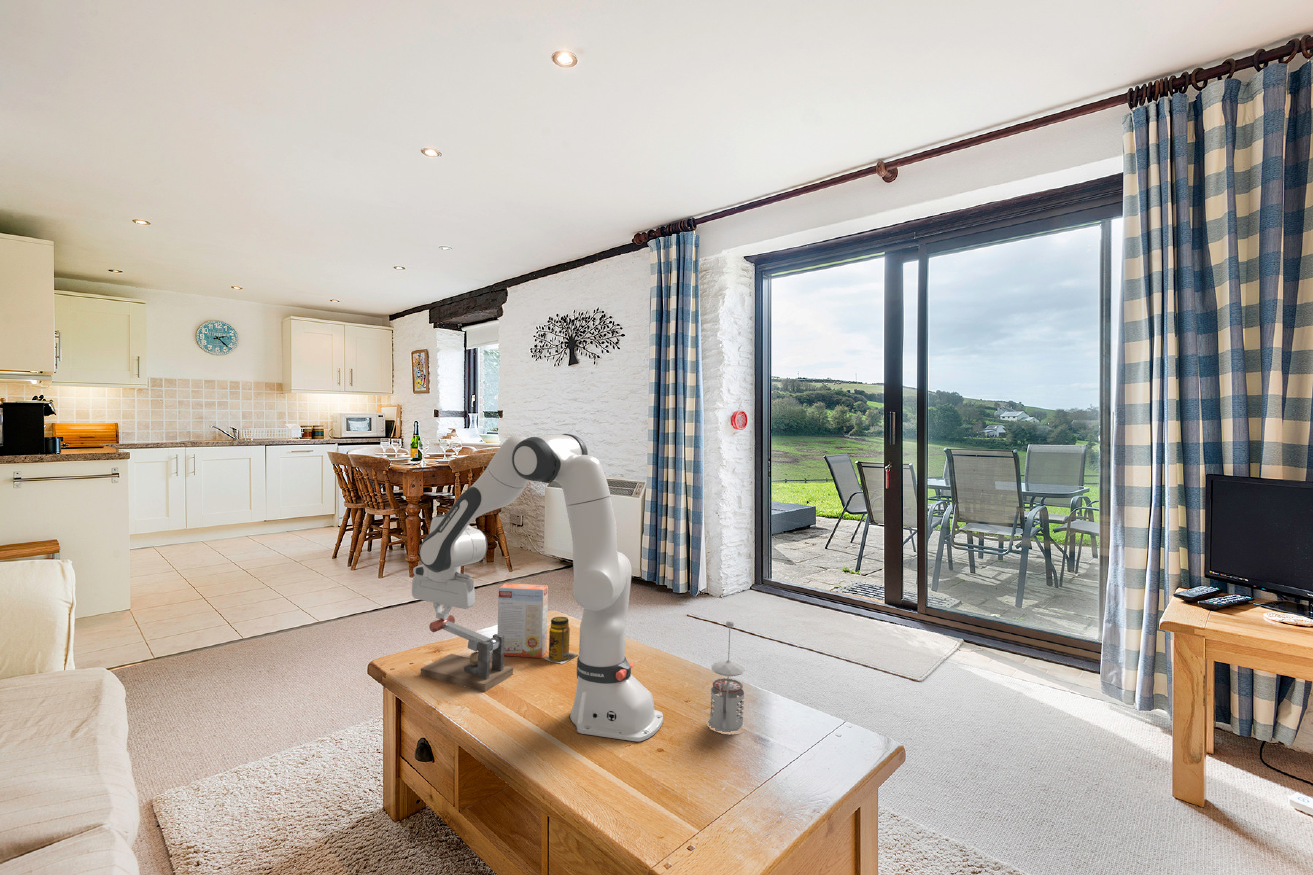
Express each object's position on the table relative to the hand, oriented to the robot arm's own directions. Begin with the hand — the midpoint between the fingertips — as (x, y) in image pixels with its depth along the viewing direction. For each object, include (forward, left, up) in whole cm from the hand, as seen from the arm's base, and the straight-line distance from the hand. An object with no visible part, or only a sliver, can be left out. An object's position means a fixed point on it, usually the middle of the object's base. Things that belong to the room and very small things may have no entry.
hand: (442, 618), depth 169 cm
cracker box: (-13, -20, -15) cm, 28 cm away
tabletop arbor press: (-9, 0, -14) cm, 17 cm away
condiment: (-25, -23, -15) cm, 37 cm away
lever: (-8, 0, -6) cm, 10 cm away
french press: (-82, -5, -15) cm, 84 cm away
